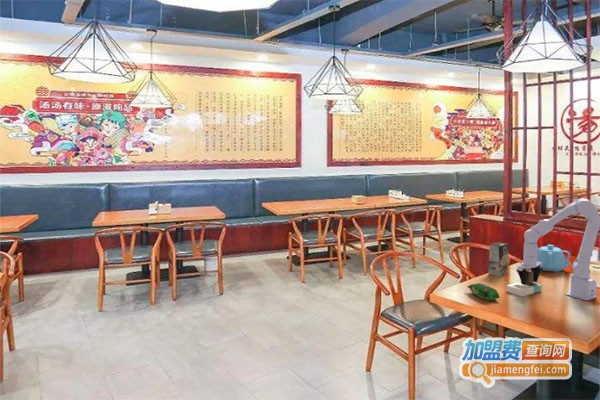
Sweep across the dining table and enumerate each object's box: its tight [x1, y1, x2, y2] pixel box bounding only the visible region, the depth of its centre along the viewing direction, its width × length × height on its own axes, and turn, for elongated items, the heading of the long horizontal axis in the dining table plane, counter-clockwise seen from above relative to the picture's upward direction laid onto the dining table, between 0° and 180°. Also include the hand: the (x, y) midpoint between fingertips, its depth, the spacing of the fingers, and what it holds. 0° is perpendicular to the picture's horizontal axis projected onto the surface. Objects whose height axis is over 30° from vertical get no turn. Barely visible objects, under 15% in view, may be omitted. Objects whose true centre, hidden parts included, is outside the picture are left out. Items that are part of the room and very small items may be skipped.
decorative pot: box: [537, 244, 572, 273], centre depth 242 cm, size 16×16×14 cm
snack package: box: [466, 282, 500, 301], centre depth 205 cm, size 7×16×5 cm, turn 13°
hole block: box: [506, 281, 542, 297], centre depth 210 cm, size 8×14×3 cm, turn 117°
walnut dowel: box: [526, 270, 534, 286], centre depth 211 cm, size 3×3×9 cm
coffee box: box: [488, 241, 510, 277], centre depth 238 cm, size 9×6×16 cm
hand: (529, 283), depth 211 cm, fingers open, 7 cm apart
